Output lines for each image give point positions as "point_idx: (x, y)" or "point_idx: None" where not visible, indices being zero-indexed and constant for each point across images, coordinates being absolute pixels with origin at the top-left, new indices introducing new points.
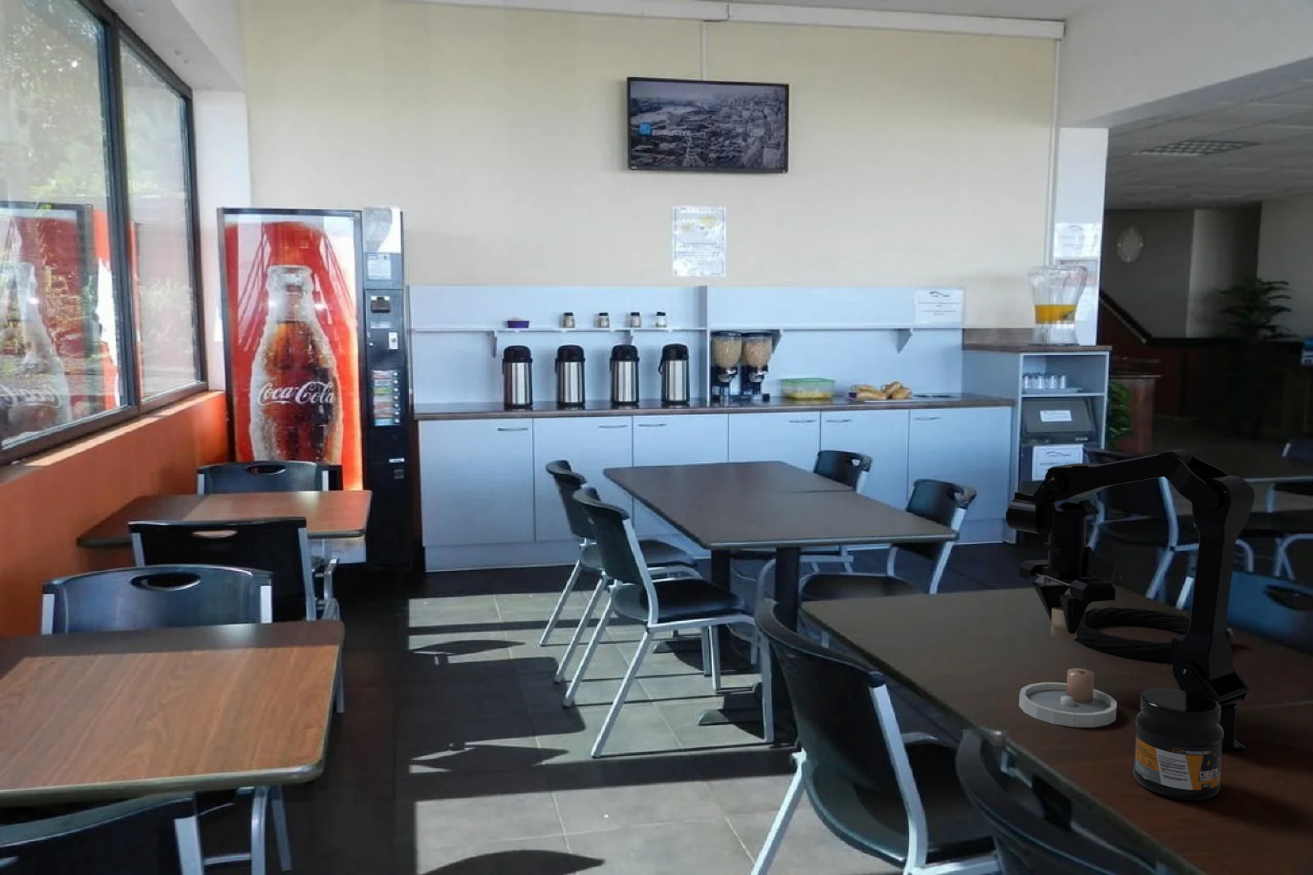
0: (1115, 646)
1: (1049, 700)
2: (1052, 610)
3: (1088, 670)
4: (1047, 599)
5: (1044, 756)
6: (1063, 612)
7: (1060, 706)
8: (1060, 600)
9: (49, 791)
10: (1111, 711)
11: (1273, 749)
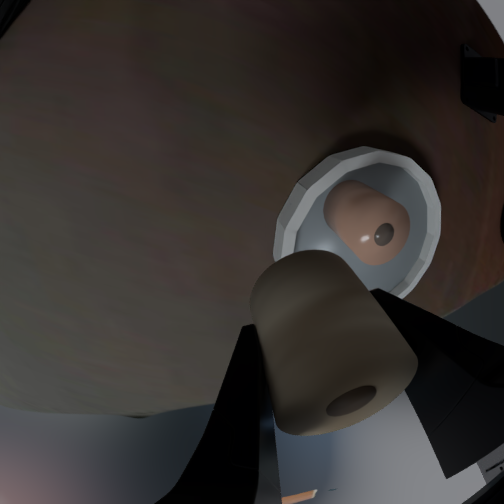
0: (4, 15)
1: None
2: (327, 430)
3: (378, 207)
4: (277, 482)
5: (450, 307)
6: (414, 405)
7: None
8: (264, 451)
9: (315, 496)
10: (436, 194)
11: (485, 32)
